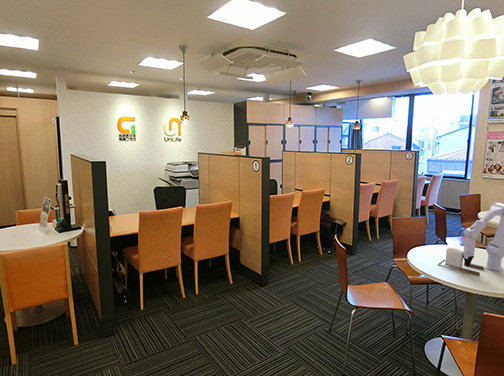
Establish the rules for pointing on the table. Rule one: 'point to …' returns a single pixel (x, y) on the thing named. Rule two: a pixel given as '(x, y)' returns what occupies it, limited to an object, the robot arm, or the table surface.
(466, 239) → the robot arm
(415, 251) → the table surface
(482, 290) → the table surface
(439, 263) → the charcoal frame
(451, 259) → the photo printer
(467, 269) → the walnut rails
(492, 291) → the table surface
